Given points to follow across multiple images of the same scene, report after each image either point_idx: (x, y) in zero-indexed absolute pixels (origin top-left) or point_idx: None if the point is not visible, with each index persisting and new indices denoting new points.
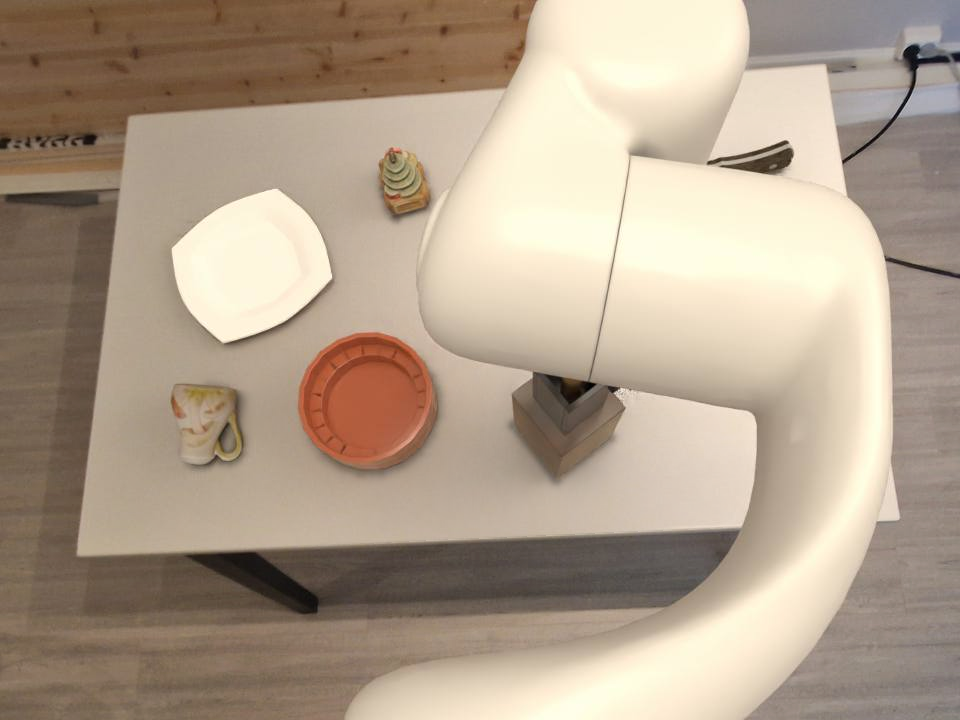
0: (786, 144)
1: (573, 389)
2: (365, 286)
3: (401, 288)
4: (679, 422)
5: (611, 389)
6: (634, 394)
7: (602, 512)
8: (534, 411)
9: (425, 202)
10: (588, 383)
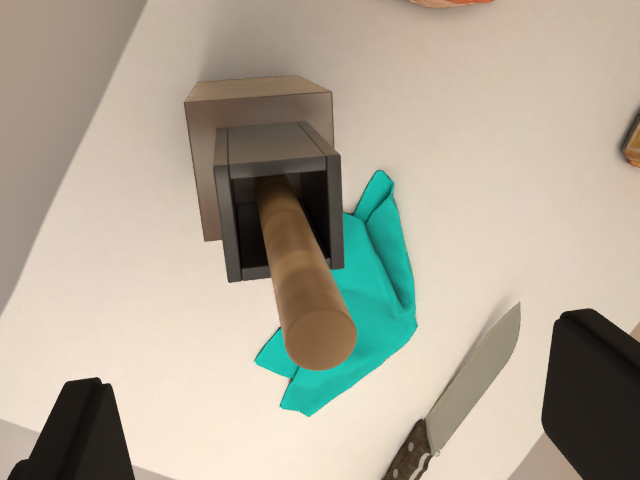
0: None
1: (260, 199)
2: (599, 4)
3: (559, 51)
4: (181, 265)
5: (63, 405)
6: None
7: (121, 109)
8: (282, 108)
9: (631, 153)
10: None
